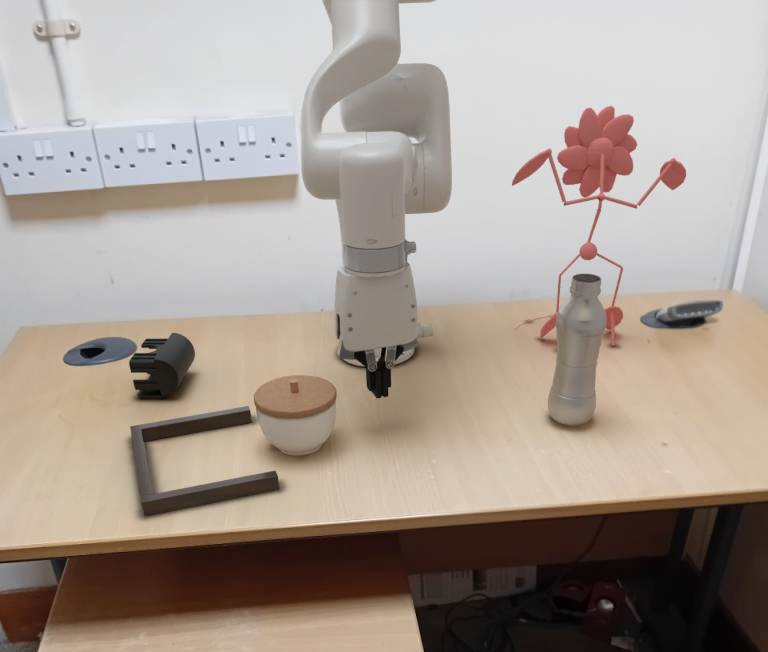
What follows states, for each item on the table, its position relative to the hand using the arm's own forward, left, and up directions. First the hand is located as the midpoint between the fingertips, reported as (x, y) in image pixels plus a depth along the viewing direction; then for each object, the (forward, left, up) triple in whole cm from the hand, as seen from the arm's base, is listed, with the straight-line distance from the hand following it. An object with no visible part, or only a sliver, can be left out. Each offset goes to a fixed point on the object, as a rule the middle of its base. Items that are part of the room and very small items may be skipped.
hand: (379, 393), depth 106 cm
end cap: (+26, -25, -6) cm, 37 cm away
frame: (+25, 0, -6) cm, 25 cm away
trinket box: (+11, 0, -6) cm, 13 cm away
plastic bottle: (-26, +7, -6) cm, 27 cm away
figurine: (-42, -20, -6) cm, 47 cm away
